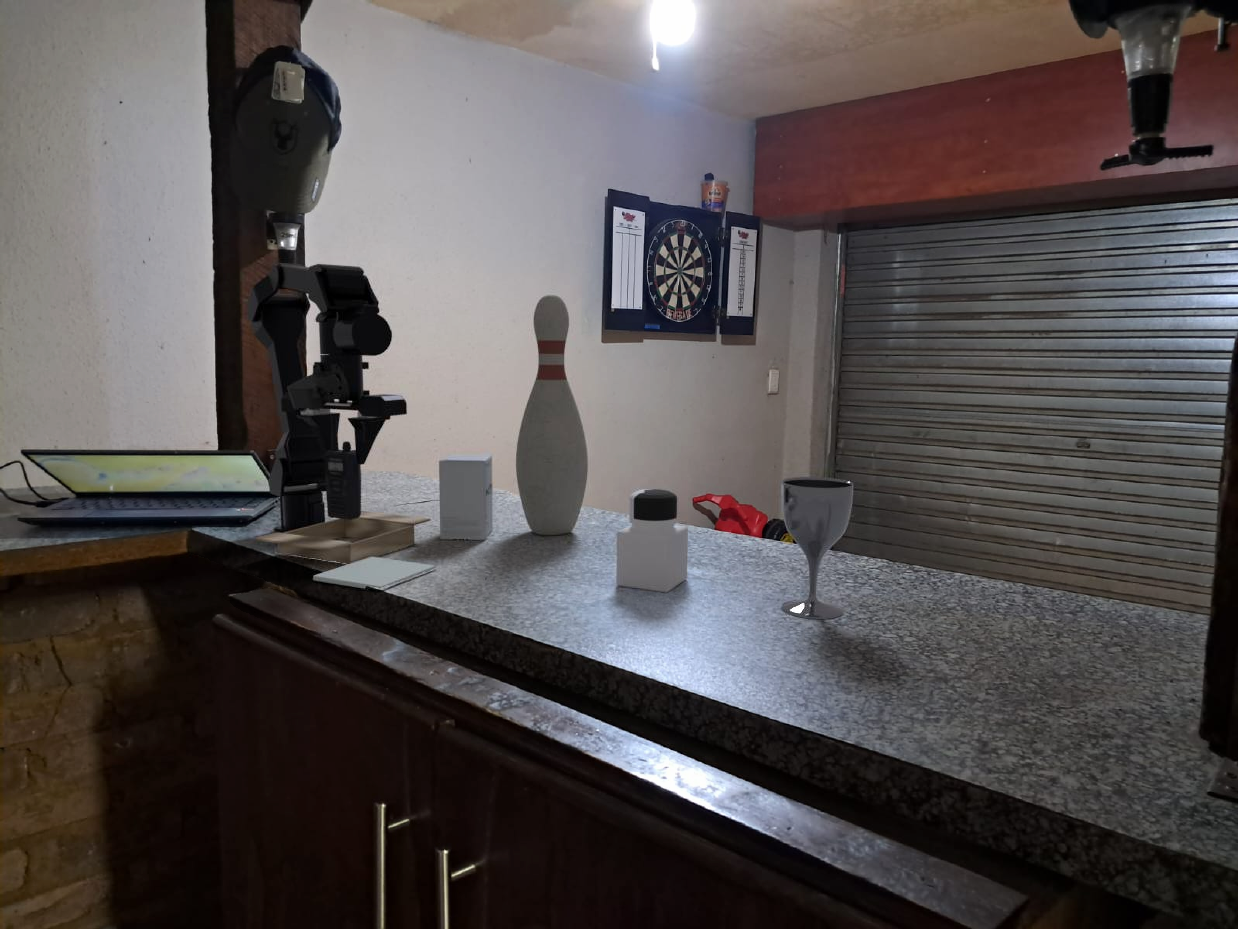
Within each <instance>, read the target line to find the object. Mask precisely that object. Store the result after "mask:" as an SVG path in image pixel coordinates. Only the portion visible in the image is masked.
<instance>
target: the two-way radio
mask: <svg viewBox="0 0 1238 929" xmlns="http://www.w3.org/2000/svg"><path fill="white" fill-rule="evenodd" d="M325 477H326V491H325V496H326V505H327V507H326V509H327V516H328V517H329V518H330V519H348V520H352V519H356V518H358V517H360V515H361V511H362V471H361V465H358V464H357V458H356V449H352V446H351V442H350V441H343V442H342V447H341V449H339V430H338V431H337V419H336V416H334V415H333V416H331V450H329V451H327V452H326V454H325Z"/></svg>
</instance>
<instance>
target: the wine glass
mask: <svg viewBox="0 0 1238 929" xmlns="http://www.w3.org/2000/svg"><path fill="white" fill-rule="evenodd" d="M853 498H854V482H852V481H849V480H846V479H841V478H840V479H839V478H832V477H820V476H798V477H797V476H796V477H795V476H794V477H788V478H784V479H782V481H781V508H782V509H781V510H782V516H783V519H784V520H783V521H784V524H785V527H786V531H787V532H788V534H789V535H790V537H792V539H793V540H794V542H796V544H797V545H798V546H799V548H800V549H801V550H802V552H803V554H804V556H805V558H806V561H807V564H808V573H809V574H808V575H809V592H808V593H809V594H808V597H807V598H806V599H794V600H789V601H786V602H784V603H782V605H781V606H780V609H781V610H782V611H783V612H784V613H786V614H788V615H791V616H794V617H797V618H798V617H799V618H802V619H810V620H811V619H812V620H829V619H835V618H838V617H841V616H843V615H844V614H845V613H844V609H843V607H841V606H839V605H837V604H834V603H831V602H828V601H823V600H819V599H818V597H817V584H818V575H819V570H820V564H821V562H822V560H823V558H824V557H825V555H826V554H827V552H828V551H829V550H830V549H831V548H832V547H833V546H834V545H835V544H836V543H837V542H838V541H839V539H841V538H842V536H843V535H844V534H845V532H846V530H847V528H848V525H849V522H850V518H851V512H852V507H853Z"/></svg>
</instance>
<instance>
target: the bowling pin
mask: <svg viewBox="0 0 1238 929" xmlns="http://www.w3.org/2000/svg"><path fill="white" fill-rule="evenodd" d="M569 326H570V316H569V312H568V308H567V305H566V303H565V302H564V300H563V299H562V297H560V296H558V295H556V294H555V295H554V294H547V295H543V296H542V297H541V298H540V299H539V300H538V302H537V303H536V306H535V309H534V312H533V328H534V335H535V339H536V344H537V350H538V352H537V354H538V357H537V358H538V368H537V374H536V377H535V380H534V382H533V386H532V389H531V391H530V394H529V397H528V400H527V403H526V406H525V408H524V412H523V415H522V420H521V422H520V428H519V432H518V437H517V443H516V454H515V470H516V472H515V473H516V482H517V487H518V492H519V497H520V502H521V506H522V510H523V514H524V517H525V520H526V523H527V524H528V527H529V529H530V530H531V531H532V532H533V533H534V534H537V535H540V536H557V535H559V536H560V535H565V534H569V533H570V532H572V531H573V530H574V529H575V527H576V524H577V522H578V519H579V517H580V513H581V510H582V505H583V502H584V497H585V494H586V486H587V481H588V472H589V471H588V468H589V460H588V457H589V456H588V448H587V441H586V436H585V431H584V427H583V426H584V425H583V421H582V419H581V415H580V411H579V409H578V405H577V402H576V400H575V397H574V394H573V391H572V388H571V386H570V383H569V381H568V378H567V375H566V374H567V373H566V368H565V349H566V344H567V338H568V334H569V328H570V327H569Z"/></svg>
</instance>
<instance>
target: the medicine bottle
mask: <svg viewBox="0 0 1238 929" xmlns="http://www.w3.org/2000/svg"><path fill="white" fill-rule="evenodd" d="M677 519H678V495H676V494H675V493H674V492H673V491H669V490H666V489H660V488H646V489H639V490H636V491H634V492H632V493H631V494H630V496H629V523H630V524H631V525H628V526H626V527H625V528H623V529H620V530H618V531H617V532H616V573H615V574H616V582H615V584H616V585H617V587H622V588H623V587H625V588H630V589H639V590H645V591H653V592H660V593H668V592H670V591H671V590H673V589H674V588H676V587H678V585H681V583H682V582H685V581H686V580H687V578H688V547H689V546H688V545H689V542H688V541H689V528H688V526H686V525H685V526H684V525H678V524H677V522H678V520H677Z"/></svg>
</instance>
